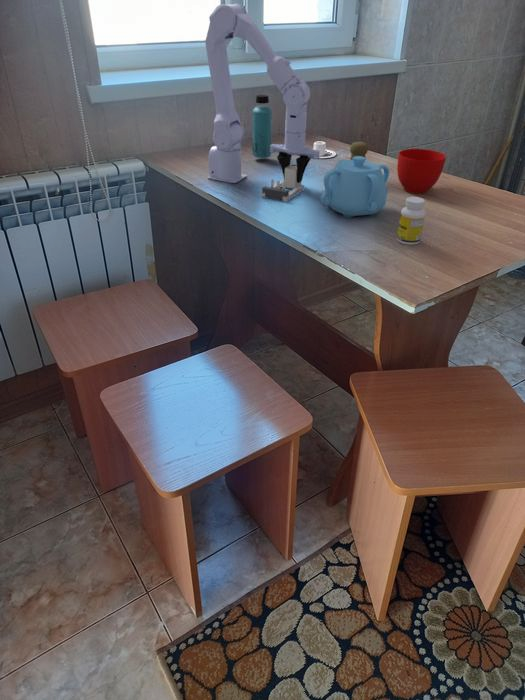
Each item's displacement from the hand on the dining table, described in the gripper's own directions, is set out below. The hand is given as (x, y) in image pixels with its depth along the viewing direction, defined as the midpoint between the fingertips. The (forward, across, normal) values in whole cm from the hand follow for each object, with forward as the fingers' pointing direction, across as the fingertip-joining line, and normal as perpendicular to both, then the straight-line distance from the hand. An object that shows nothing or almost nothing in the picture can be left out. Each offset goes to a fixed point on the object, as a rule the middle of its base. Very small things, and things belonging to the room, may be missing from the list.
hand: (292, 180), depth 149 cm
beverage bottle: (+2, +21, -20) cm, 29 cm away
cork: (+2, -14, -16) cm, 21 cm away
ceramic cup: (+2, -33, -18) cm, 37 cm away
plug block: (+2, 0, 0) cm, 2 cm away
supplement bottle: (+2, -40, +22) cm, 46 cm away
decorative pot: (+2, -22, +10) cm, 24 cm away
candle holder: (+2, +7, -38) cm, 38 cm away
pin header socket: (+2, 0, +8) cm, 8 cm away
